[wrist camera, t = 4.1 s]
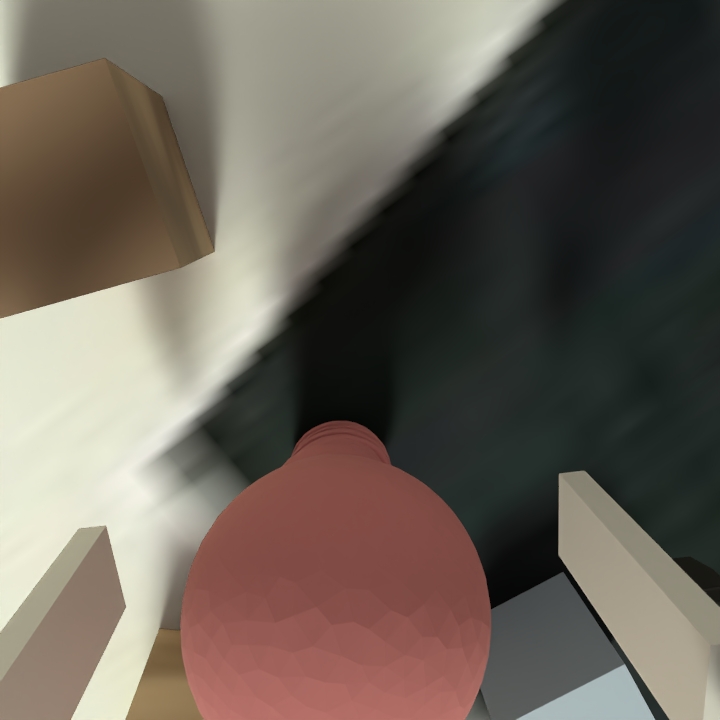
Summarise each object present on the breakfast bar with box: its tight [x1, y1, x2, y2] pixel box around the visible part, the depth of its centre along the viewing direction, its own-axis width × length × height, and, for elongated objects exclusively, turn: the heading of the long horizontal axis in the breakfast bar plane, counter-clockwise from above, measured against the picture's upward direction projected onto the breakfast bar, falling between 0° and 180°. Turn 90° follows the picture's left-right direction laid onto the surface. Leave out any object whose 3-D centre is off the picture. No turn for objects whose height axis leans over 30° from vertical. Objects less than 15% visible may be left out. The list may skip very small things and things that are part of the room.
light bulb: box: [180, 421, 491, 720], centre depth 16 cm, size 7×7×12 cm
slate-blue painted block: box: [480, 572, 655, 720], centre depth 22 cm, size 5×5×5 cm
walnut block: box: [0, 58, 215, 318], centre depth 16 cm, size 5×5×5 cm
